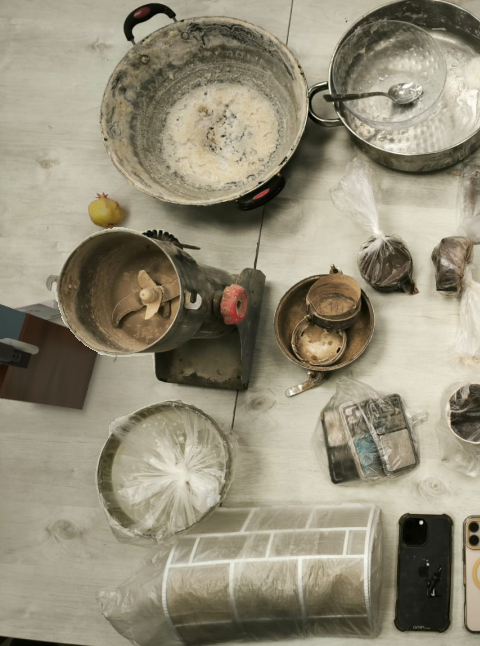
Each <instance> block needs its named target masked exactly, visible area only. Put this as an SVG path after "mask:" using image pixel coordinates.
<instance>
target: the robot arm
mask: <svg viewBox="0 0 480 646" xmlns="http://www.w3.org/2000/svg"><path fill="white" fill-rule="evenodd" d="M14 348H15V347H14V346H12V345H8V344H5V343H2V342H0V366H1V364H5V365H10V366H14V367H18V368H26V369H27V367H28V364H29V361H30V358H31V355H32V353H28V352H25V351H21V350H18V349H14Z"/></svg>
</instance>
